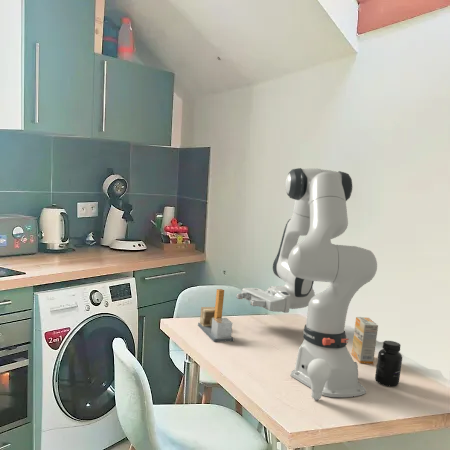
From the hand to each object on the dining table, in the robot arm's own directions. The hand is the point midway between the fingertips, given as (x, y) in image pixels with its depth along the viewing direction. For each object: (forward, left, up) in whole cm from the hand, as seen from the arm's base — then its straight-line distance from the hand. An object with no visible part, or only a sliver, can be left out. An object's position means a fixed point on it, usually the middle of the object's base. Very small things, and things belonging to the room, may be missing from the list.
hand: (244, 299), depth 187 cm
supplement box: (-30, -31, -12) cm, 45 cm away
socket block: (+6, +10, -11) cm, 16 cm away
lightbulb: (-55, +1, -12) cm, 56 cm away
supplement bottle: (-48, -27, -12) cm, 56 cm away
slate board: (0, +10, -12) cm, 16 cm away
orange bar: (-3, +10, -10) cm, 15 cm away
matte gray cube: (-6, +10, -11) cm, 16 cm away
